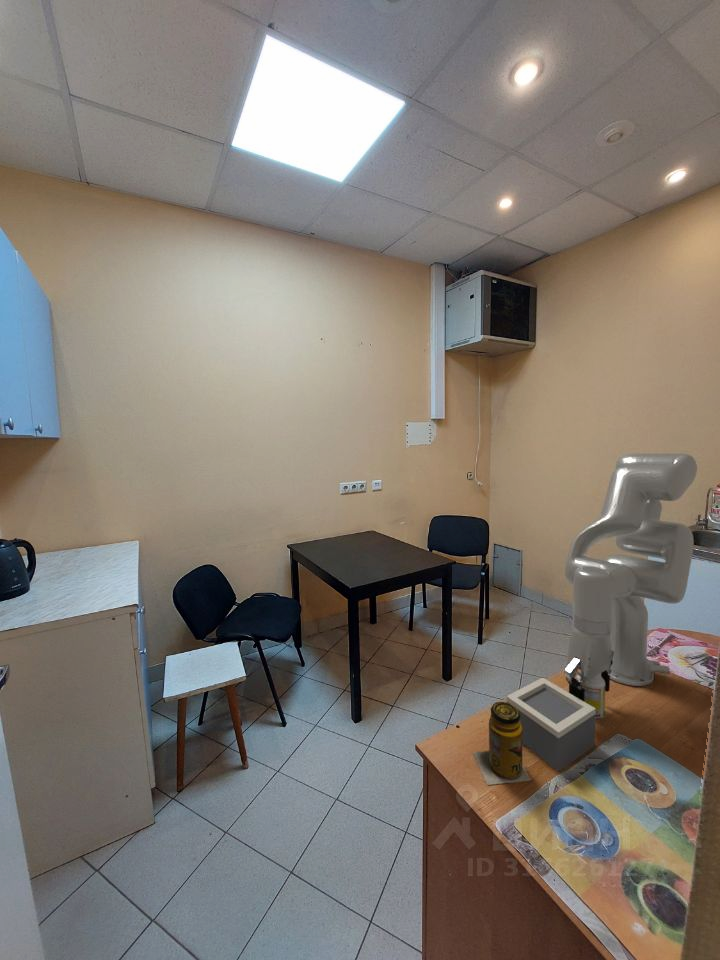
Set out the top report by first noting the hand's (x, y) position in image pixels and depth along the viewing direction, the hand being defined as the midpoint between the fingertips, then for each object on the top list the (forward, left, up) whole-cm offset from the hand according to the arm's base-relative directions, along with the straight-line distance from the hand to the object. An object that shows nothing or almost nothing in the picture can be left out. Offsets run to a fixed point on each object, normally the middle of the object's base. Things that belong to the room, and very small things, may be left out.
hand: (589, 695), depth 87 cm
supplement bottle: (0, -1, -5) cm, 5 cm away
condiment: (+19, +21, -5) cm, 29 cm away
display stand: (+9, +11, -4) cm, 15 cm away
